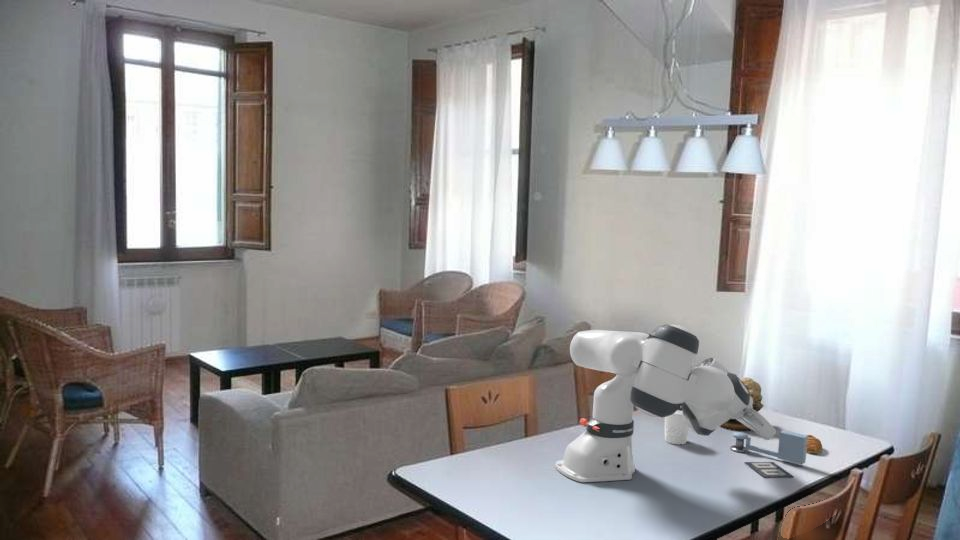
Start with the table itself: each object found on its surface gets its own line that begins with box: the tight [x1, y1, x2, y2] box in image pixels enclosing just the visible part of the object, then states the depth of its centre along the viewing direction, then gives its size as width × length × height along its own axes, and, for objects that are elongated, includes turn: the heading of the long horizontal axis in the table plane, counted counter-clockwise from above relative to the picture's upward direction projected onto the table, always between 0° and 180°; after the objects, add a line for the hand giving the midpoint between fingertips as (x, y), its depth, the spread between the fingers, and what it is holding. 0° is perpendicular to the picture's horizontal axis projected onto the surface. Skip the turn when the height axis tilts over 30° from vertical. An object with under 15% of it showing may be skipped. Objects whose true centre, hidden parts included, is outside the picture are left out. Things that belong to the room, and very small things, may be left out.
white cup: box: [663, 410, 690, 445], centre depth 233 cm, size 8×8×10 cm
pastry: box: [806, 434, 823, 454], centre depth 231 cm, size 9×7×4 cm
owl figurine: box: [720, 376, 764, 432], centre depth 252 cm, size 18×12×17 cm, turn 120°
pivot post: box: [730, 438, 749, 454], centre depth 227 cm, size 5×5×4 cm
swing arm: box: [732, 429, 808, 466], centre depth 222 cm, size 21×4×8 cm, turn 50°
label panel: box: [743, 461, 794, 479], centre depth 211 cm, size 9×11×1 cm
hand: (765, 436), depth 213 cm, fingers closed
